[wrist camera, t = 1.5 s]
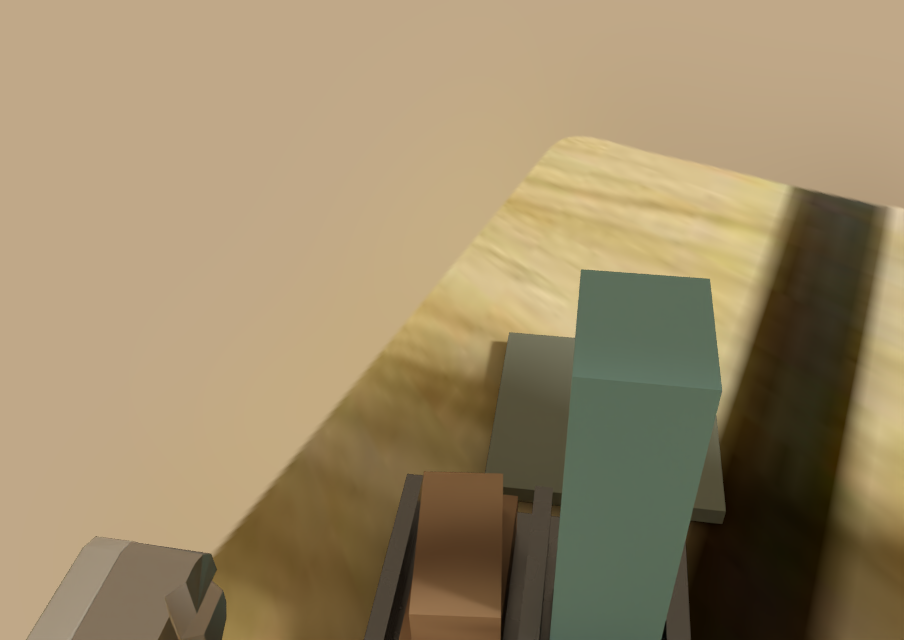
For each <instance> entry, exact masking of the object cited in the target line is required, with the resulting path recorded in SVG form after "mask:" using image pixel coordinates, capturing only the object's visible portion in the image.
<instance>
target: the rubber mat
mask: <svg viewBox="0 0 904 640" xmlns="http://www.w3.org/2000/svg"><path fill="white" fill-rule="evenodd" d="M574 346H575V338H569V337H558V336H546V335H534V334H522V333H511V332H509V337H508V343H507V348H506V354H505V360H504V366H503V372H502V377H501V383H500V389H499V395H498V401H497V406H496V412H495V418H494V424H493V430H492V436H491V441H490V447H489V453H488V459H487V465H486V470H485V473H500V474H503V495H512V496H518V501H523V502H532V503H533V501H534V492H535V486H542V487H551V488H553V496H552V505H559V506H561V498H562V486H563V474H564V463H565V451H566V439H567V428H568V416H569V404H570V393H571V381H572V370H573V358H574ZM725 513H726V507H725V497H724V487H723V477H722V467H721V457H720V447H719V437H718V427H717V417H715V421H714V425H713V430H712V434H711V438H710V442H709V446H708V450H707V454H706V458H705V462H704V466H703V470H702V474H701V479H700V483H699V487H698V491H697V495H696V499H695V503H694V507H693V511H692V515H691V519H690V520H691V521H700V522H709V523H718V524H722V523H723V520H724V516H725Z"/></svg>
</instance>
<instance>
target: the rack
mask: <svg viewBox="0 0 904 640" xmlns="http://www.w3.org/2000/svg"><path fill="white" fill-rule="evenodd" d="M422 486H423V476H422V475H413V474H407V477H406V481H405V485H404V488H403V492H402V496H401V500H400V504H399V508H398V511H397V515H396V519H395V523H394V527H393V531H392V534H391V538H390V542H389V546H388V550H387V554H386V557H385V561H384V565H383V569H382V573H381V577H380V580H379V584H378V588H377V592H376V596H375V599H374V603H373V607H372V611H371V615H370V619H369V622H368V626H367V630H366V634H365V638H364V640H399V636H400V632H401V628H402V623H403V619H404V614H405V610H406V606H407V601H408V597H409V592H410V588H411V584H412V579H413V570H414V561H415V551H416V542H417V533H418V523H419V514H420V505H421V495H422ZM552 496H553V488H551V487H542V486H535V492H534V501H533V510H532V514H529V513H520V512H517V532H516V540H515V547H514V555H513V563H512V571H511V579H510V587H509V595H508V602H507V610H506V618H505V626H504V634H503V640H549V639H550V627H551V615H552V603H553V591H554V579H555V567H556V556H557V544H558V532H559V521H560V517H555V516H551V509H552ZM661 640H691V633H690V614H689V596H688V577H687V559H686V540H685V544H684V548H683V552H682V556H681V560H680V564H679V568H678V573H677V577H676V581H675V585H674V589H673V593H672V597H671V601H670V605H669V609H668V613H667V617H666V622H665V626H664V630H663V634H662V638H661Z"/></svg>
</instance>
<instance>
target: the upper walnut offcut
mask: <svg viewBox="0 0 904 640" xmlns="http://www.w3.org/2000/svg"><path fill="white" fill-rule="evenodd" d="M502 513H503V474H500V473H463V472H426V471H424V477H423V486H422V495H421V505H420V514H419V523H418V533H417V542H416V551H415V561H414V570H413V579H412V589H411V598H410V607H409V621H410V630H411V639H412V640H501V577H502Z"/></svg>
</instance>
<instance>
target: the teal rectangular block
mask: <svg viewBox="0 0 904 640" xmlns="http://www.w3.org/2000/svg"><path fill="white" fill-rule="evenodd" d="M721 393H722V385H721V376H720V367H719V358H718V349H717V340H716V331H715V321H714V312H713V303H712V294H711V285H710V279H704V278H690V277H677V276H663V275H649V274H636V273H622V272H609V271H595V270H582V269H581V276H580V288H579V300H578V311H577V323H576V335H575V346H574V358H573V370H572V381H571V393H570V404H569V416H568V428H567V439H566V451H565V463H564V474H563V486H562V498H561V509H560V521H559V532H558V544H557V556H556V567H555V579H554V591H553V603H552V615H551V627H550V639H549V640H661V638H662V634H663V630H664V626H665V622H666V617H667V613H668V609H669V605H670V601H671V597H672V593H673V589H674V585H675V581H676V577H677V573H678V568H679V564H680V560H681V556H682V552H683V548H684V544H685V540H686V536H687V532H688V528H689V524H690V519H691V515H692V511H693V507H694V503H695V499H696V495H697V491H698V487H699V483H700V479H701V474H702V470H703V466H704V462H705V458H706V454H707V450H708V446H709V442H710V438H711V434H712V430H713V425H714V421H715V417H716V413H717V409H718V405H719V401H720V397H721Z"/></svg>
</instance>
